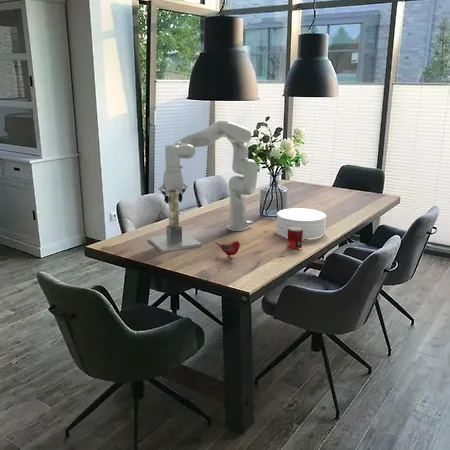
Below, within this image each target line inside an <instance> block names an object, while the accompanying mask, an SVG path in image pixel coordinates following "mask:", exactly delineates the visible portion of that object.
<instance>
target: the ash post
mask: <svg viewBox="0 0 450 450" xmlns="http://www.w3.org/2000/svg"><path fill="white" fill-rule="evenodd" d="M178 194H179V191H178V190H175V191H169V193H168V197H169V203H168V225H169V227H171V228H176V227H179V226H180V215H179V211H180V210H179V204H180V203H179V201H178Z"/></svg>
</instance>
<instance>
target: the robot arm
mask: <svg viewBox="0 0 450 450" xmlns="http://www.w3.org/2000/svg"><path fill="white" fill-rule="evenodd" d="M222 138H226V139H227V140H228V141H229V142H230V144H231V146H232V150H233V151H232V152H233V154H232V156H233V157H232V165H231V166H232V172H234V173H235V174H238V175H233V176H231V177H230V179H229V180H228V182H227V183H228V191H229V224H228V225H227V226H226V229H227V230H228V231H232V232H245V231H247V230H248V229H249V225H253V224H254V221H252V220H247V219H246V218H247V217H246V216H247V215H246V213H247V197H246V196H251V195H253V194H254V193H255V191H256V187H257V181H258V180H257V178H258V171H259V170H258V169H259V168H258V165H257V162H256V161H255V160H254V159H251V158H249V146H248V143H249V142H250V141H251V139H252V133H251V131H250V129H249V128H247V127H244V126H241V124H237V123H235V122H232V121H226V120H218V121H215V122H213V123H212V124H210V125H209V126H207V127H205V128H204V129H202V130H201V131H198V132H195V133H192V134H190V135H189V134H188V135H186V136H183V137H182V138H180V139H179V140H177V141H176V142H174V143H173V144H167V145H165V146H164V155H165V157H164V158H165V171H163V176H162V177H163V178H162V184H161V186H159V187H158V191H159V192H161V194H162V195H163V196H164V202H165V204H169V194H168V193H169V191H175V190H176V191H178V202H180V203H182V202H183V195H184V193H185V192H186V190H188V185H186V184H185V182H184V179H183V178H184V177H183V174H182V173H183V172H182V169H183V165H181V159H192V158H193V157H194V156H195V155H196V148H200V147H207V146H210V145H211V144H213V143H215V142H217V141H218V140H219V139H222Z"/></svg>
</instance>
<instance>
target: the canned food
mask: <svg viewBox="0 0 450 450" xmlns="http://www.w3.org/2000/svg"><path fill="white" fill-rule="evenodd" d="M302 238H303V228H302V227H299V226H290V227H288V238H286V240H287V242H286V243H287V244H286V246H287V249H289V248H291V249H299V248H301V249H302V247H303V240H302ZM291 249H290V250H291Z"/></svg>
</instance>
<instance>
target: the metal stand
mask: <svg viewBox="0 0 450 450" xmlns="http://www.w3.org/2000/svg"><path fill="white" fill-rule="evenodd" d="M165 229H166V234H165V235H157V236H151V237H150V236H149V237H148V242H149V243H151V244H152V245H153V246H155V247H156V248H157V249H158V250H159V252H161V253H165V252H173V251H177V250H179V251H180V250H185V249H191V248H199V247H200V248H201V247H202V242H199V241H198V240H197V239H195V238H194V237H192V235H190V234H188V233H187V232H183V227H182V226H181V225H179V227H176V228H171V227H169V224H168V225H166V228H165Z"/></svg>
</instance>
